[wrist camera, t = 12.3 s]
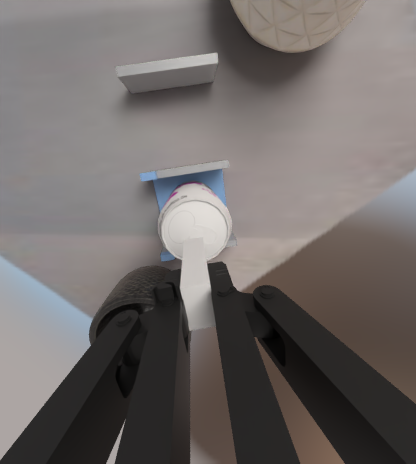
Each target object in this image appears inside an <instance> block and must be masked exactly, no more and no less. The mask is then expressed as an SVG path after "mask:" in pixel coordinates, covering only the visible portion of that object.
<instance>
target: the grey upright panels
mask: <svg viewBox="0 0 416 464" xmlns="http://www.w3.org/2000/svg"><path fill="white" fill-rule="evenodd" d="M217 66H218V56H217V53H210V54H203V55H196V56H189V57H181V58H174V59H167V60H160V61H152V62H145V63H138V64H130V65H123V66H116V67H115V68H116V72H117V76H118V78H119V79H120V80H121V81H122V83H123V84H124V85H125V86H126V87H127V89H128V90H129V91H130V92H131V93H132V94H133V93H140V92H147V91H154V90H161V89H168V88H175V87H182V86H189V85H196V84H203V83H210V82H213V80H214V76H215V73H216V69H217ZM228 167H229V161H228V160H221V161H215V162H208V163H202V164H195V165H189V166H183V167H176V168H170V169H163V170H157V171H150V172H145V173H141V174H140V178H141V181H148V180H153V183H154V187H155V192H156V196H157V200H158V205H159V209H160V213H161V210H162V208H163V207H164V205H165V203H166V202H167V200H168V198H169V197H170V195H171V193H172V192H173V191H174V190H175V188H176V187H177V186H179V185H180V184H182V183H184V182H187V181H198V182H202V183H204V184H206V185H207V186H209V187H210V188H211V189H212V191H213V192H214V193H215V194H216V195H217V196H218V198H219V199H220V200H221V201H222V203H223V204H224V205H225V206H226V199H225V190H224V182H223V173H222V168H228ZM209 170H210V171H209ZM203 171H204V172H203ZM196 172H197V173H196ZM190 173H191V174H190ZM184 174H185V175H184ZM177 175H178V176H177ZM171 176H172V177H171ZM164 177H165V178H164ZM158 178H159V179H158ZM231 246H237V239H236V238H235V236H234V234H233V233H232V231H231V236H230V238H229V240H228V243H227V245H226V246H225V247H231ZM225 247H224V248H225ZM160 257H161V261H162V262H163V261H168V260H174V259H175V257H174V256H173V255H172V254H171V253H170V252H169V251H168V250H167V249H166V248H165V247H164V246H163V249H162V252H161V255H160Z"/></svg>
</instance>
